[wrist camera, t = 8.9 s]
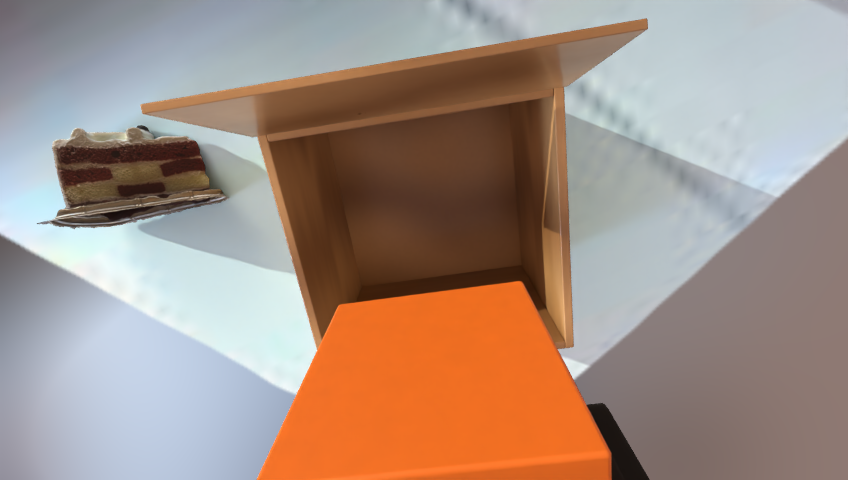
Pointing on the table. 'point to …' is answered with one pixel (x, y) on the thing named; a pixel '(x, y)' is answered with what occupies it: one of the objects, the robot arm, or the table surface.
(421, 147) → the carton
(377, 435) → the block
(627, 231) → the table surface
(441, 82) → the flap
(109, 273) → the table surface
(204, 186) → the chocolate cake
